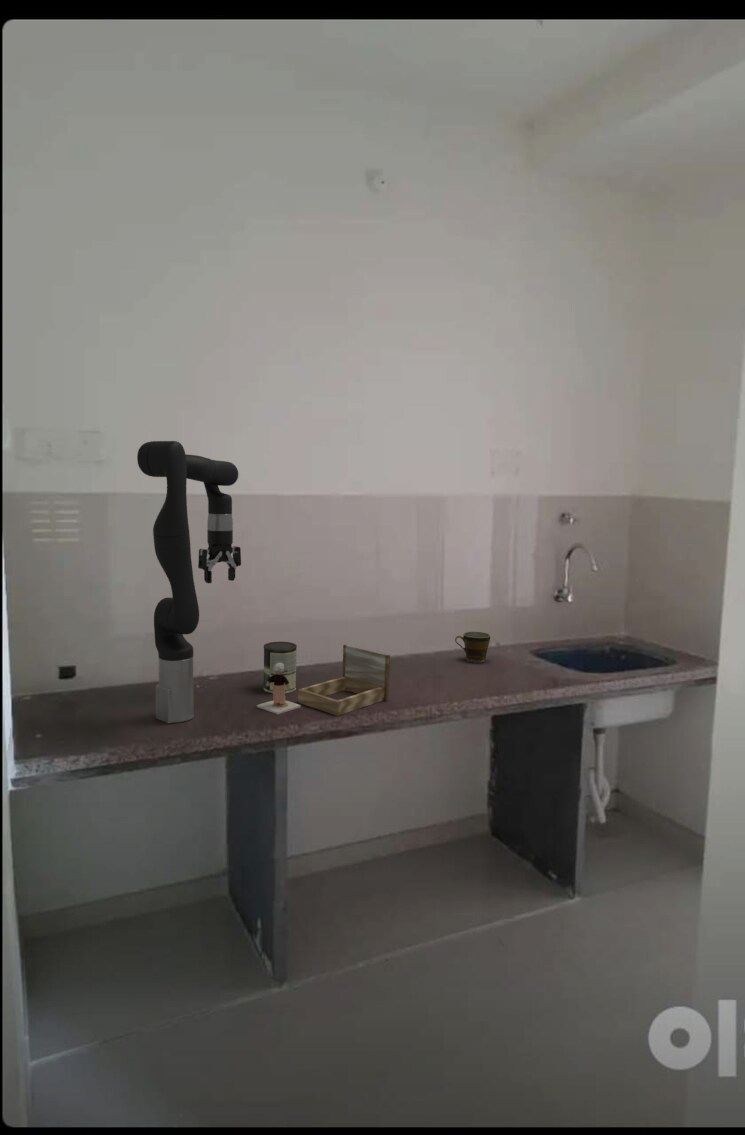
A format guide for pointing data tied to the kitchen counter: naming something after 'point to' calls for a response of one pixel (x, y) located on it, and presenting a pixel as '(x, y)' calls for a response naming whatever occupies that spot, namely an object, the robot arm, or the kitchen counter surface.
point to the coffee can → (280, 654)
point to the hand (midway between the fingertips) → (220, 581)
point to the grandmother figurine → (279, 685)
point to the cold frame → (352, 683)
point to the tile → (278, 707)
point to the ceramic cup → (475, 646)
